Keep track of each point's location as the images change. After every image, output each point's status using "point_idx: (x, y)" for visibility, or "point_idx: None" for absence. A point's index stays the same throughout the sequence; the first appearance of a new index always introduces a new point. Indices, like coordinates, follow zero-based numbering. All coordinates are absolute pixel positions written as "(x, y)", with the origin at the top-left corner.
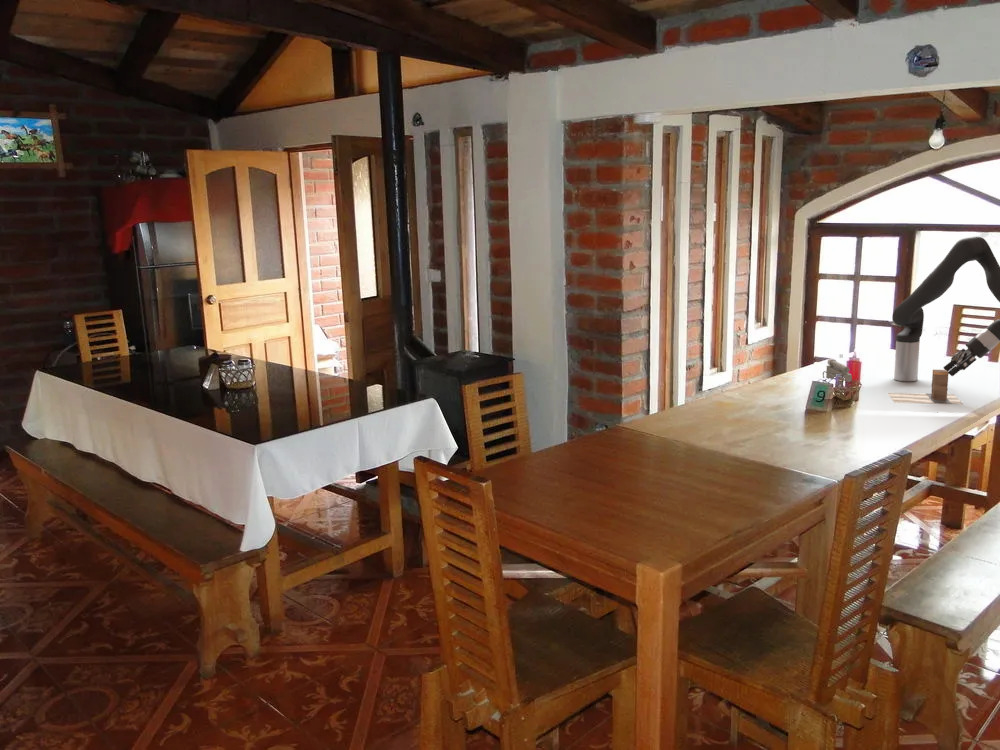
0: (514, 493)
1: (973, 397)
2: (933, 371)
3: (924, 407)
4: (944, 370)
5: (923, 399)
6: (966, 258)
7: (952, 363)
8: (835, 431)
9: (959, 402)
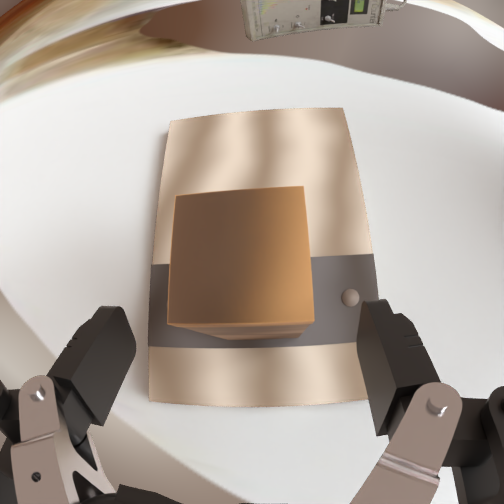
0: (3, 15)
1: None
2: (260, 194)
3: None
4: (259, 296)
5: None
6: None
7: (388, 406)
8: (15, 81)
9: (178, 391)
